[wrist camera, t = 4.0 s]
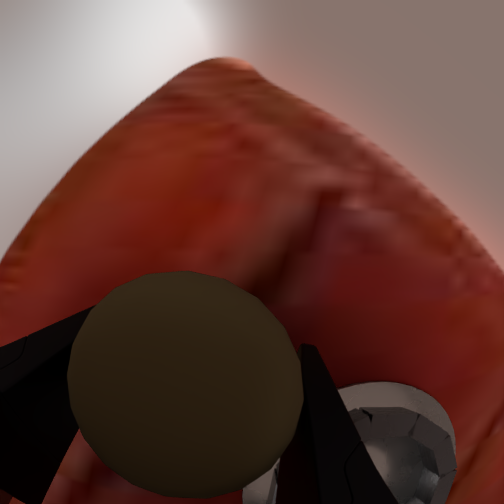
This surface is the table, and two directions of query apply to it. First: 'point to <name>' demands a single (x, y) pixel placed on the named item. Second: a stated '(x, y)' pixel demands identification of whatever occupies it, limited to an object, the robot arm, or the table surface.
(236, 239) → the table surface
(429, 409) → the iron collar
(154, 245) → the table surface
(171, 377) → the cork
